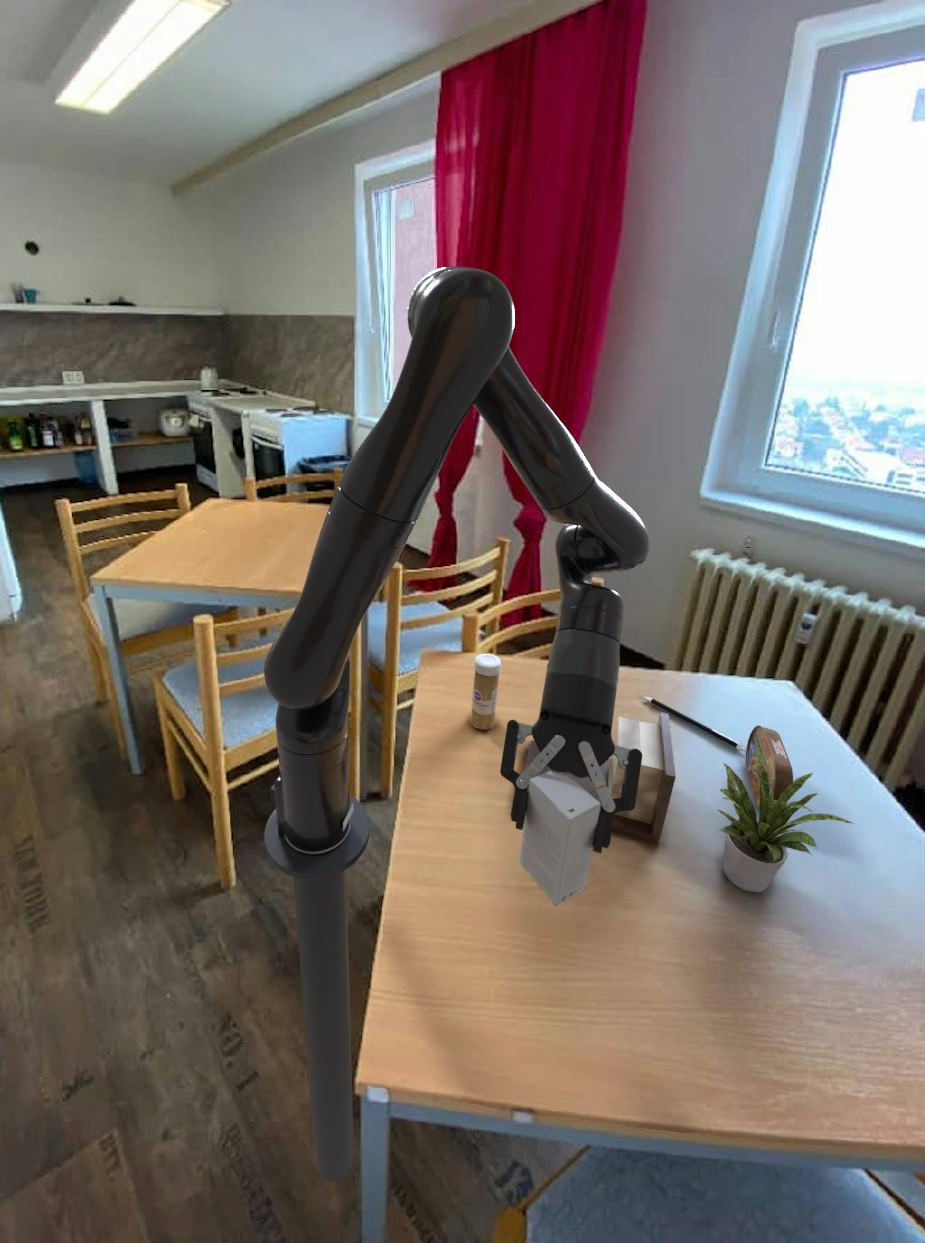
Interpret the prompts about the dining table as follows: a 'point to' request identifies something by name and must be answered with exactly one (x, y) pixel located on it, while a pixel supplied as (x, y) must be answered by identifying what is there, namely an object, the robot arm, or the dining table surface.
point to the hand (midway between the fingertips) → (557, 840)
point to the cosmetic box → (558, 835)
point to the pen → (697, 724)
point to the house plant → (763, 830)
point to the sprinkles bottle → (485, 691)
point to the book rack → (652, 779)
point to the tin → (768, 761)
